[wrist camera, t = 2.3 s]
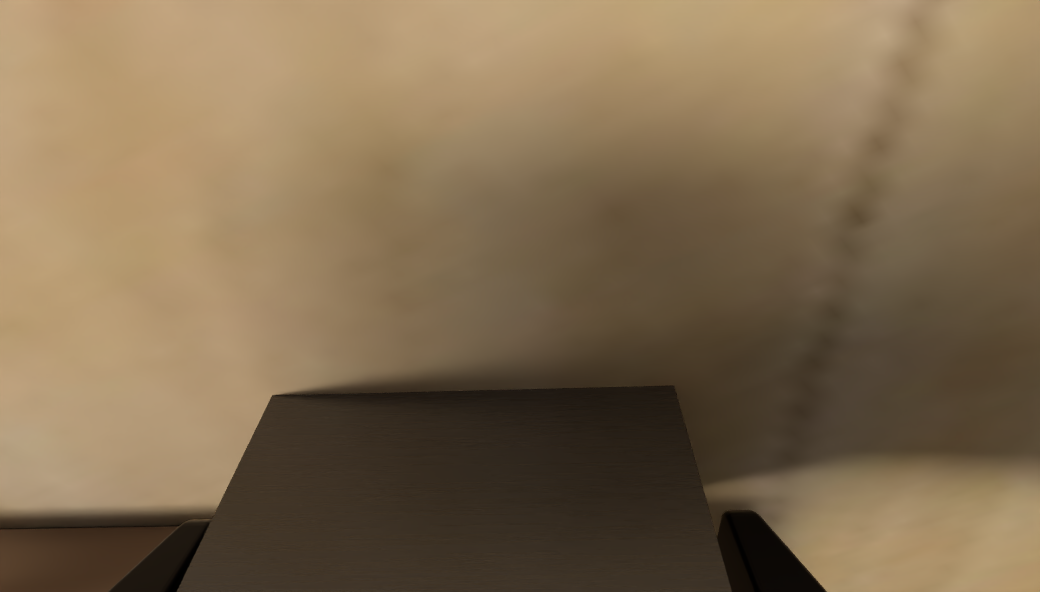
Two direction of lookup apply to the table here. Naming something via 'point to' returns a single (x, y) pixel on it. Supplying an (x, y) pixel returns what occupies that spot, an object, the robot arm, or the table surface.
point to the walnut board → (73, 557)
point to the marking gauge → (465, 496)
